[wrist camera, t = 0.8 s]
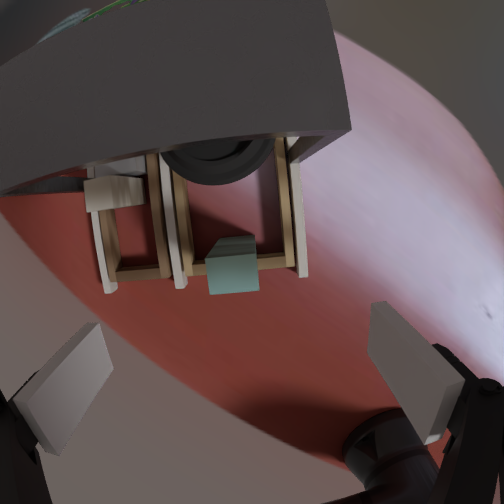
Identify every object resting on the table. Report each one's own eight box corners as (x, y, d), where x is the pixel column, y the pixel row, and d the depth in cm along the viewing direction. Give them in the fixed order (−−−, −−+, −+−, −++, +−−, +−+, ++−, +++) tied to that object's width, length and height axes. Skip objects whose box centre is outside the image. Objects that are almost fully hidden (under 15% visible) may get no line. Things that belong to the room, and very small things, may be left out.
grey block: (151, 173, 33) (136, 170, 28) (114, 180, 33) (95, 178, 28) (148, 132, 32) (133, 124, 27) (112, 141, 32) (93, 134, 27)
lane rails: (305, 272, 35) (308, 276, 33) (111, 288, 36) (104, 293, 34) (286, 80, 31) (288, 74, 29) (92, 113, 31) (85, 110, 29)
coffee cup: (175, 168, 33) (122, 151, 18) (211, 100, 31) (184, 41, 17) (245, 202, 34) (241, 208, 19) (281, 132, 32) (303, 88, 17)
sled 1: (174, 272, 35) (150, 297, 26) (118, 277, 35) (83, 300, 26) (157, 107, 31) (129, 83, 22) (101, 121, 31) (63, 104, 23)
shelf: (296, 164, 33) (351, 129, 14) (96, 191, 33) (-20, 198, 14) (286, 83, 31) (320, -17, 12) (92, 116, 31) (-13, 75, 12)
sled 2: (291, 261, 35) (309, 291, 24) (189, 271, 35) (164, 303, 24) (275, 91, 31) (284, 50, 20) (172, 104, 31) (141, 70, 20)
